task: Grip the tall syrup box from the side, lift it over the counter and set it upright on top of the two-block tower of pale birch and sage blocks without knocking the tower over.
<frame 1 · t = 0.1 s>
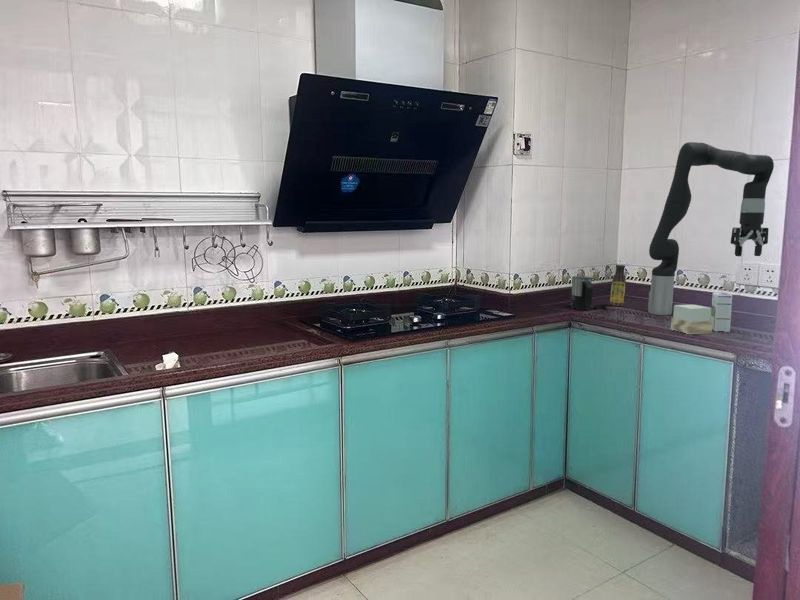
hand: (747, 256, 219), 29 cm above the worktop, tool pointing down, fingers open, 8 cm apart
bottom block: (690, 332, 227), on the worktop, touching top block
top block: (691, 319, 226), point 5 cm above the worktop, touching bottom block
syrup box: (719, 330, 230), on the worktop
milk frother: (589, 309, 280), on the worktop
sauce bottle: (616, 305, 289), on the worktop
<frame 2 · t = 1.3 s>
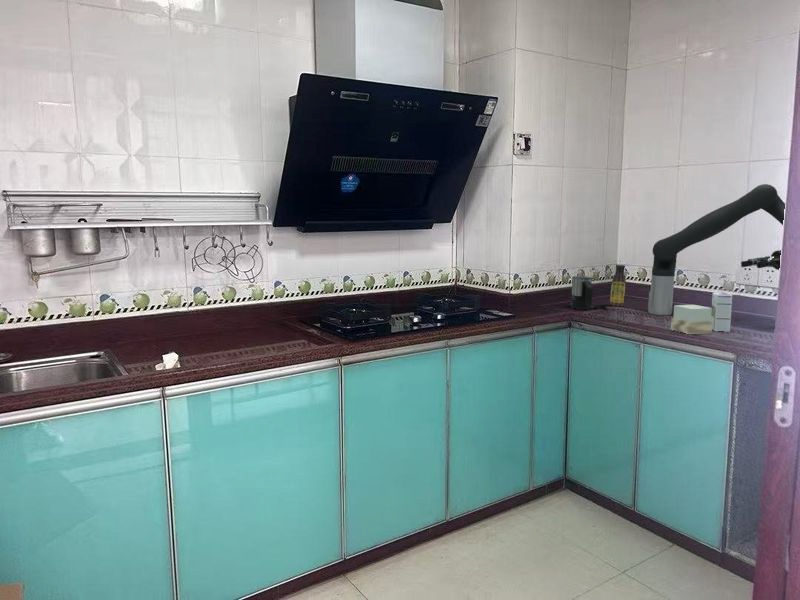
hand: (749, 264, 229), 25 cm above the worktop, tool horizontal, fingers open, 8 cm apart
bottom block: (690, 332, 227), on the worktop
top block: (691, 319, 226), point 5 cm above the worktop
everything else where it was.
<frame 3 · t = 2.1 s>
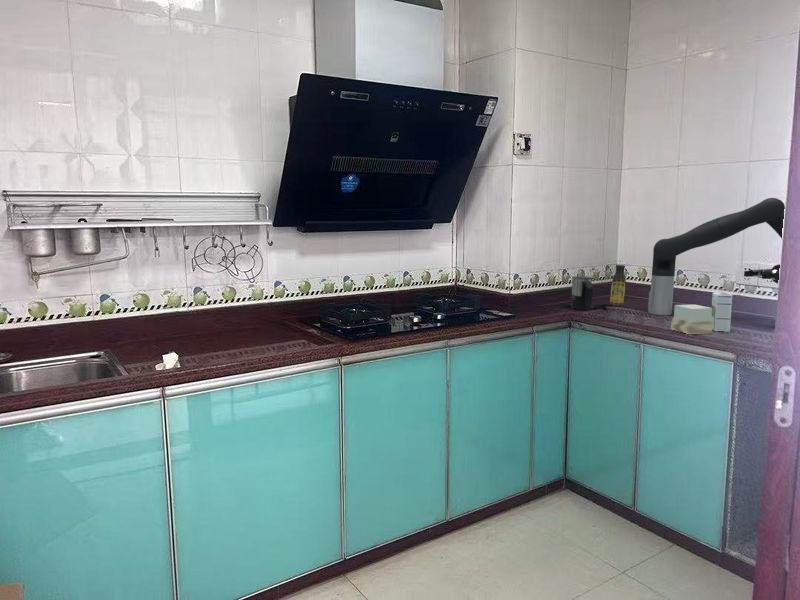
hand: (753, 274, 230), 21 cm above the worktop, tool horizontal, fingers open, 8 cm apart
nothing on the worktop moved.
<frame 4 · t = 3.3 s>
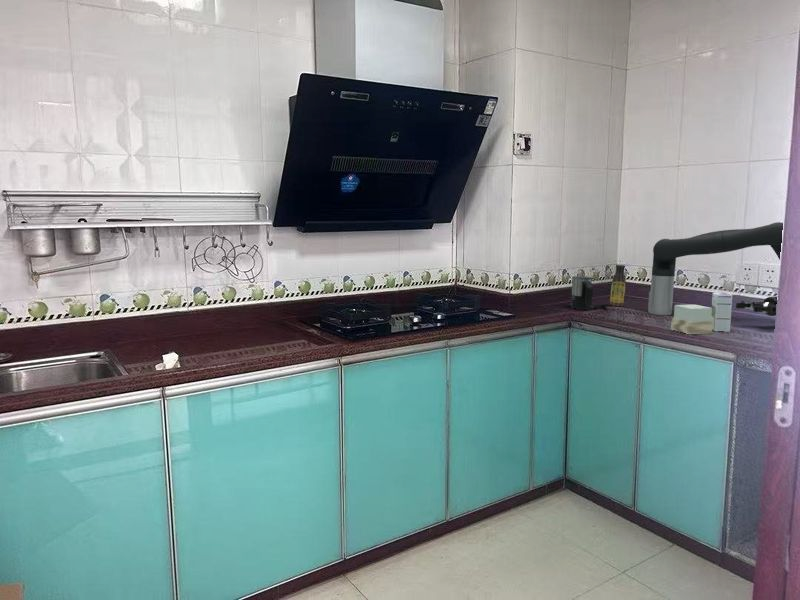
hand: (745, 307, 232), 9 cm above the worktop, tool horizontal, fingers open, 8 cm apart
bottom block: (690, 332, 227), on the worktop, touching top block
top block: (692, 319, 226), point 5 cm above the worktop, touching bottom block
everything else where it was.
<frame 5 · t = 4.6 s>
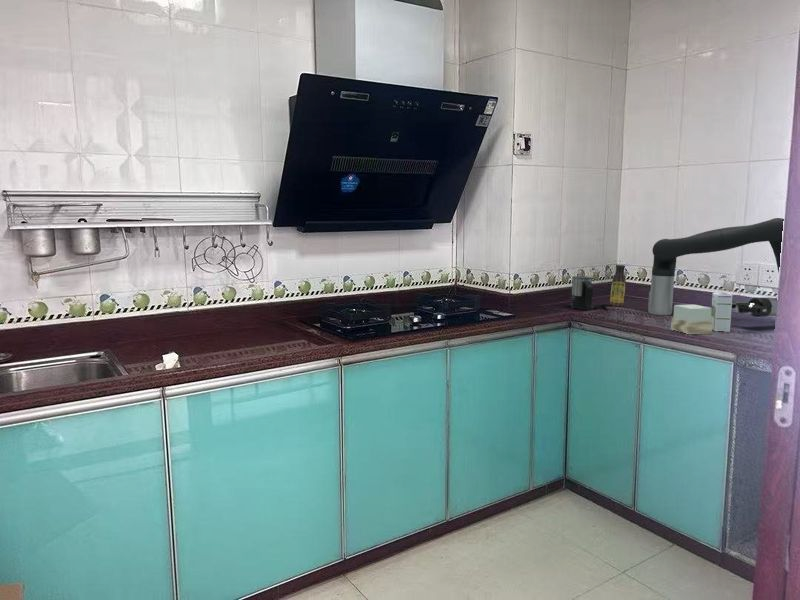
hand: (730, 308, 230), 8 cm above the worktop, tool horizontal, fingers open, 8 cm apart
nothing on the worktop moved.
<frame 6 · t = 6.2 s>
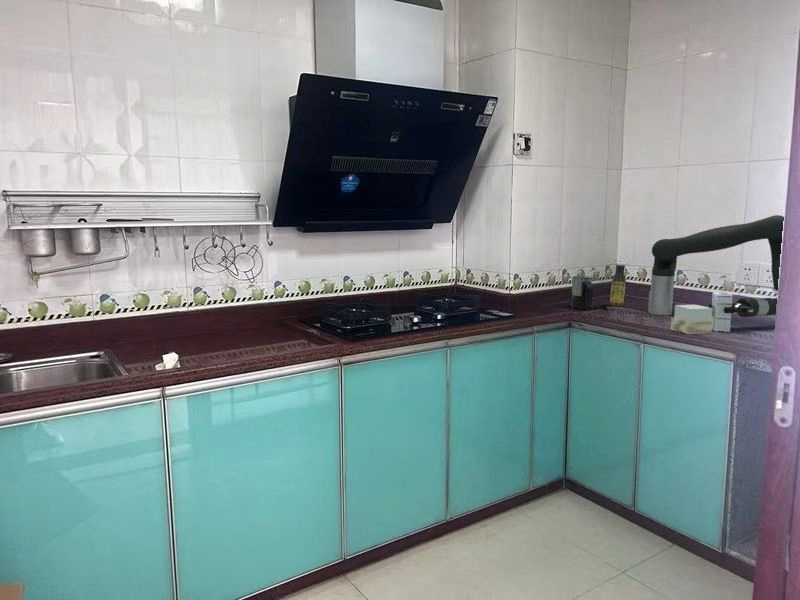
hand: (716, 308, 229), 9 cm above the worktop, tool horizontal, fingers closed on syrup box, 7 cm apart
syrup box: (719, 330, 230), on the worktop, touching gripper
everything else where it was.
when the fingers open (20 cm above the worktop, at t = 12.0 s): syrup box drops 1 cm, resting on top block.
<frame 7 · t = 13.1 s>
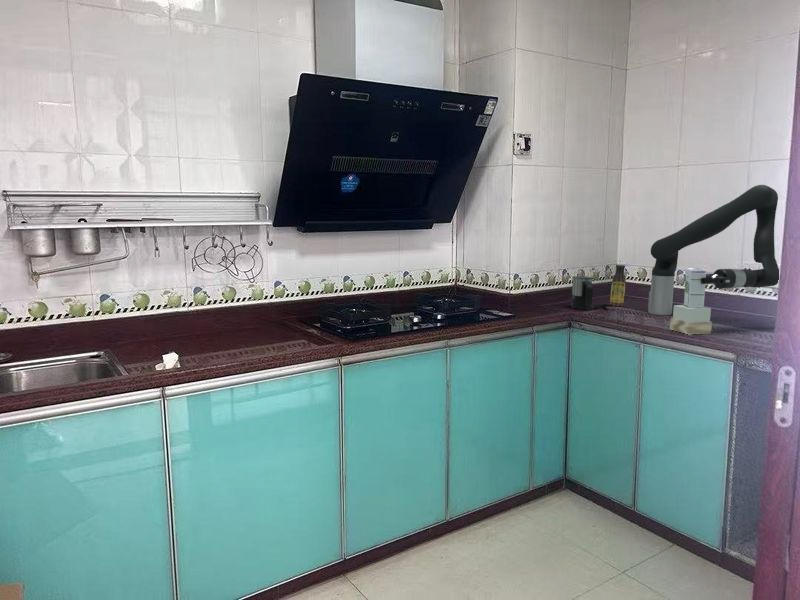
hand: (693, 279, 224), 20 cm above the worktop, tool horizontal, fingers open, 8 cm apart
top block: (691, 320, 226), point 5 cm above the worktop, touching bottom block, syrup box
syrup box: (693, 307, 225), point 9 cm above the worktop, touching gripper, top block
everything else where it was.
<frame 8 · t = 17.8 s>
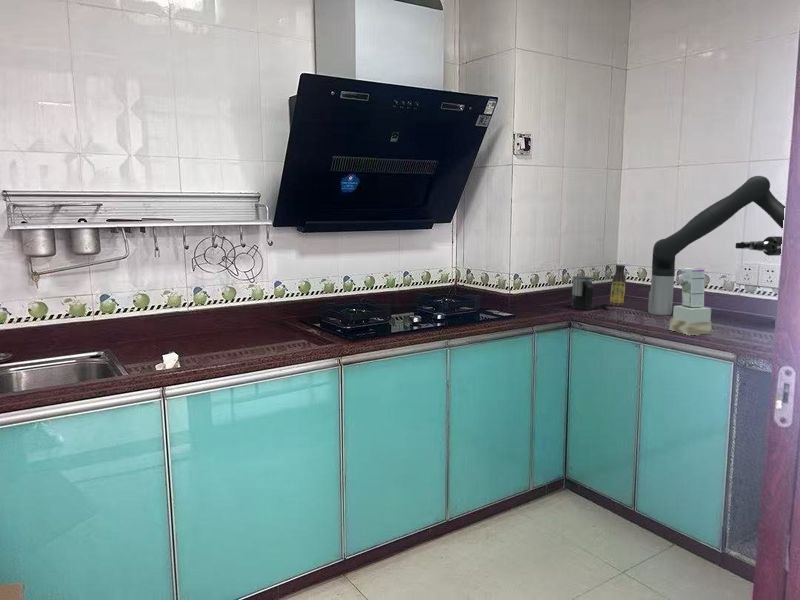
hand: (744, 246, 232), 32 cm above the worktop, tool horizontal, fingers open, 8 cm apart
bottom block: (689, 333, 226), on the worktop, touching top block
top block: (691, 320, 225), point 5 cm above the worktop, touching bottom block, syrup box
syrup box: (692, 307, 225), point 10 cm above the worktop, touching top block
everything else where it was.
at the end: syrup box 0.7 cm off-centre on the top block, point 5.1 cm above the top block's base; syrup box tilted 4°; top block 0.4 cm off-centre on the bottom block, point 5.0 cm above the bottom block's base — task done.
